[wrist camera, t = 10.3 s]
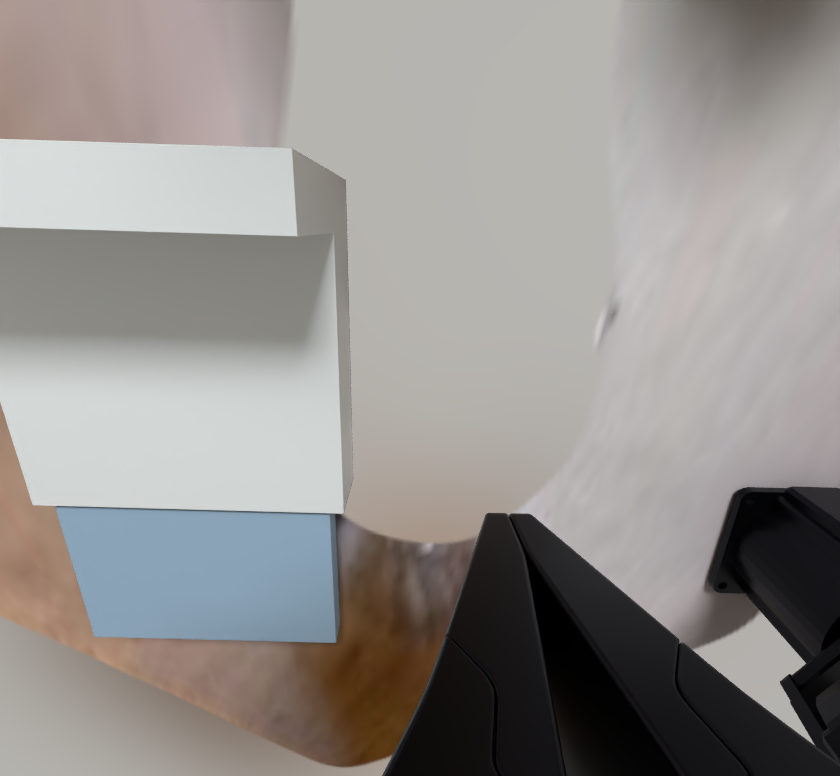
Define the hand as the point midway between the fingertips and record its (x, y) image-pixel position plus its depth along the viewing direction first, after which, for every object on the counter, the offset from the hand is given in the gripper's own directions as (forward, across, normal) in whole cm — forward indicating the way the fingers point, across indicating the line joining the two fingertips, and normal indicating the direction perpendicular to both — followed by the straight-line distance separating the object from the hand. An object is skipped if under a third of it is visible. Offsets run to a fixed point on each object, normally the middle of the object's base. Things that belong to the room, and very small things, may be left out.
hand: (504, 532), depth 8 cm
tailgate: (+11, +12, +7) cm, 18 cm away
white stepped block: (+13, +12, 0) cm, 18 cm away
